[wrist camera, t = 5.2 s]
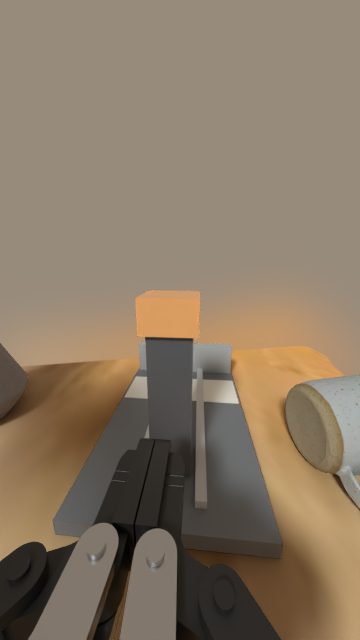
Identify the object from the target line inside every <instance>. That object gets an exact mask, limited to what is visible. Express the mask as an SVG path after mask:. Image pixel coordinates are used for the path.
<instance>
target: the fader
mask: <svg viewBox="0 0 360 640" xmlns="http://www.w3.org/2000/svg"><path fill="white" fill-rule="evenodd" d="M135 300H136V320H137V336H138V337H145V342H146V367H147V393H148V418H149V438H150V439H166V440H171V453H181V455H182V458H183V461H184V463H185V467H184V475H190V464H191V435H192V383H193V338H199V320H200V319H199V317H200V292H199V291H152V290H151V291H148V292H146V293H144V294H142V295H140V296H138V297H136V298H135Z"/></svg>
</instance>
